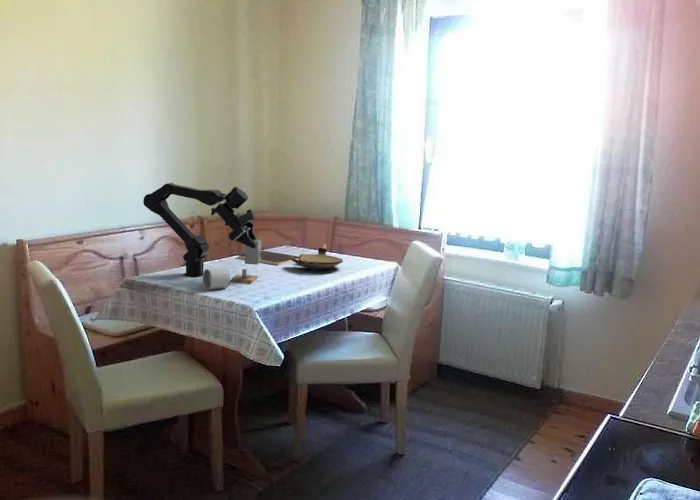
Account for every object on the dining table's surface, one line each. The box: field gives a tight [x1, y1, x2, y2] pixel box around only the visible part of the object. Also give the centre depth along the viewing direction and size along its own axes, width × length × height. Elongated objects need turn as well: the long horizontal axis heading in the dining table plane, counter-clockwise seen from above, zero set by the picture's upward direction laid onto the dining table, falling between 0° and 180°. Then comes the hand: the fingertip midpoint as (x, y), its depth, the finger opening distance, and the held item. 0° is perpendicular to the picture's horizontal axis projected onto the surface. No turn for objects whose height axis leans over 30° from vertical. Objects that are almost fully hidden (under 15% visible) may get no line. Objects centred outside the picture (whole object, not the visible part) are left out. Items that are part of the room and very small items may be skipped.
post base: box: [230, 268, 258, 284], centre depth 261 cm, size 8×8×4 cm
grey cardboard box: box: [244, 238, 262, 266], centre depth 261 cm, size 6×5×9 cm
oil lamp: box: [290, 243, 344, 270], centre depth 290 cm, size 22×30×8 cm
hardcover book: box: [237, 249, 299, 266], centre depth 303 cm, size 16×23×2 cm
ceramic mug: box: [202, 268, 231, 291], centre depth 247 cm, size 11×8×8 cm
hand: (256, 246), depth 260 cm, fingers closed on grey cardboard box, 5 cm apart
